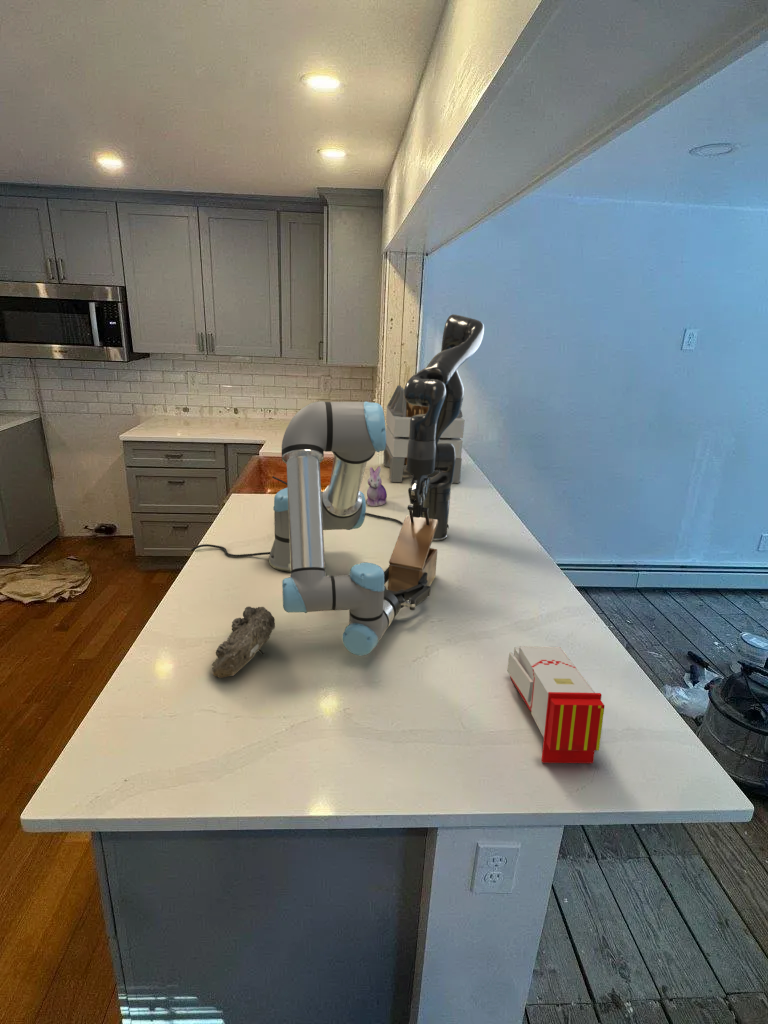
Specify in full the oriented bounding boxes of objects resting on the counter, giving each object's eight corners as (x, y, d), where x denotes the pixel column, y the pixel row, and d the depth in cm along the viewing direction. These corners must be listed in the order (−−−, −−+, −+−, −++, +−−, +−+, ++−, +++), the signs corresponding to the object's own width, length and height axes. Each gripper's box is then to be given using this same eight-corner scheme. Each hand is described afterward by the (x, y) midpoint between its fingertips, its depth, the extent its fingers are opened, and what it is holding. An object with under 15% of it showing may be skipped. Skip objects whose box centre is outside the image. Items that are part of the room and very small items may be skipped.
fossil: (228, 609, 137) (273, 580, 132) (255, 636, 140) (300, 609, 135) (192, 672, 118) (244, 640, 113) (224, 701, 121) (275, 672, 116)
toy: (556, 628, 125) (614, 701, 96) (551, 684, 128) (605, 771, 99) (502, 627, 125) (543, 700, 95) (497, 683, 128) (536, 770, 98)
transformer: (382, 463, 289) (386, 382, 275) (445, 464, 293) (451, 384, 279) (390, 482, 257) (394, 392, 243) (460, 483, 261) (468, 394, 247)
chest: (405, 571, 172) (406, 543, 169) (435, 576, 169) (437, 549, 166) (387, 594, 157) (388, 565, 154) (420, 601, 154) (422, 571, 151)
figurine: (371, 508, 224) (372, 471, 219) (360, 500, 232) (361, 464, 227) (392, 505, 228) (394, 469, 223) (380, 497, 236) (382, 462, 231)
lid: (406, 517, 164) (403, 499, 158) (438, 522, 161) (436, 504, 155) (389, 564, 154) (385, 547, 148) (422, 570, 152) (419, 553, 145)
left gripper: (338, 615, 141) (370, 578, 161) (423, 634, 134) (446, 593, 154) (338, 588, 139) (371, 554, 159) (425, 606, 132) (448, 568, 152)
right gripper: (428, 463, 143) (423, 526, 150) (441, 450, 155) (436, 509, 162) (399, 459, 145) (396, 522, 152) (415, 447, 158) (411, 505, 164)
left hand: (408, 573), depth 156 cm, fingers closed on chest, 9 cm apart
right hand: (417, 515), depth 157 cm, fingers closed
